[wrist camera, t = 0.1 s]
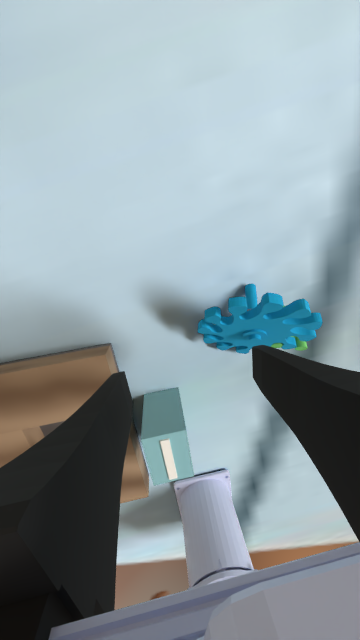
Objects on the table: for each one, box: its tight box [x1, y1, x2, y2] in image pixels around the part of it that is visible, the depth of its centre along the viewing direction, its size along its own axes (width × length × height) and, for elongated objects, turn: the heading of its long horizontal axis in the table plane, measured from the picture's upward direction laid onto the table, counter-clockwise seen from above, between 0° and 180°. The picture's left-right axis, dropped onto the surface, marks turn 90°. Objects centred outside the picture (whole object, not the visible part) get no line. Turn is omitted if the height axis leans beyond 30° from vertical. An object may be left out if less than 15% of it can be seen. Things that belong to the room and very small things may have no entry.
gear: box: [198, 284, 323, 354], centre depth 19 cm, size 11×6×10 cm
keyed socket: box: [0, 343, 149, 503], centre depth 22 cm, size 20×14×2 cm
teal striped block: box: [141, 388, 194, 486], centre depth 21 cm, size 6×4×6 cm, turn 8°
